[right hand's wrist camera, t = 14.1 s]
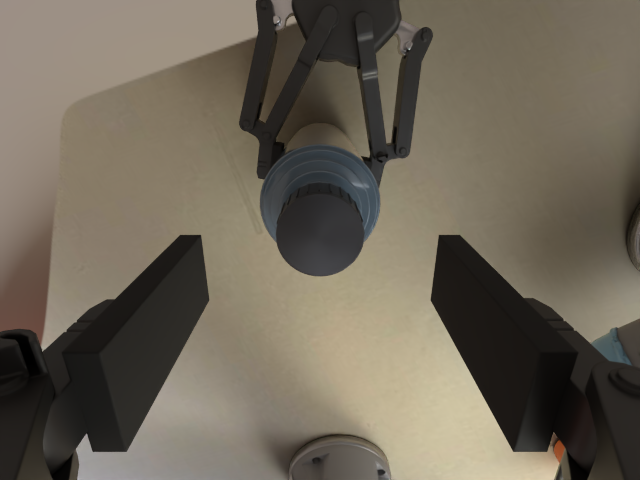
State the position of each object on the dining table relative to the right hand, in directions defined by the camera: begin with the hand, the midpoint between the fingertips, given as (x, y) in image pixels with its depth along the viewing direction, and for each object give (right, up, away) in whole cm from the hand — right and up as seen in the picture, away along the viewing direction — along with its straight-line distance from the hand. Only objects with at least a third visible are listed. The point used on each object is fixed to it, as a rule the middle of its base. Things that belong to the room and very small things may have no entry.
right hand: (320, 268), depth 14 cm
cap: (0, +1, +3) cm, 4 cm away
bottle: (0, +10, +25) cm, 27 cm away
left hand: (-1, +3, +21) cm, 21 cm away
